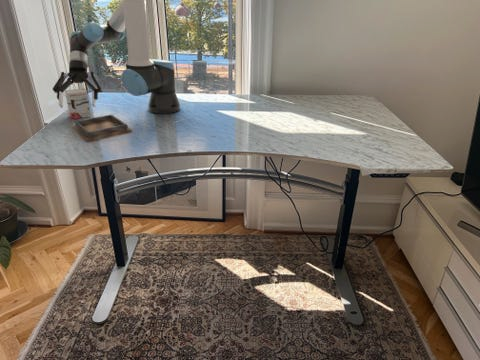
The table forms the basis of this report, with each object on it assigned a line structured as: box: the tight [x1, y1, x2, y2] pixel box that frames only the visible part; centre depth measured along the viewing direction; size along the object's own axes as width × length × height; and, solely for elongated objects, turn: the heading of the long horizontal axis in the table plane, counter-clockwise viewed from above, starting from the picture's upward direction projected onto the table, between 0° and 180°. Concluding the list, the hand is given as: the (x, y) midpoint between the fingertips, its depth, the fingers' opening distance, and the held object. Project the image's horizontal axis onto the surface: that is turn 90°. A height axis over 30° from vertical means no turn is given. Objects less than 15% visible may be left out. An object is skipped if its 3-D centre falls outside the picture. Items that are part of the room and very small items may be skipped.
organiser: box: [71, 114, 133, 142], centre depth 140 cm, size 18×18×3 cm
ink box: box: [64, 87, 93, 120], centre depth 152 cm, size 8×5×12 cm, turn 123°
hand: (77, 106), depth 150 cm, fingers open, 13 cm apart
